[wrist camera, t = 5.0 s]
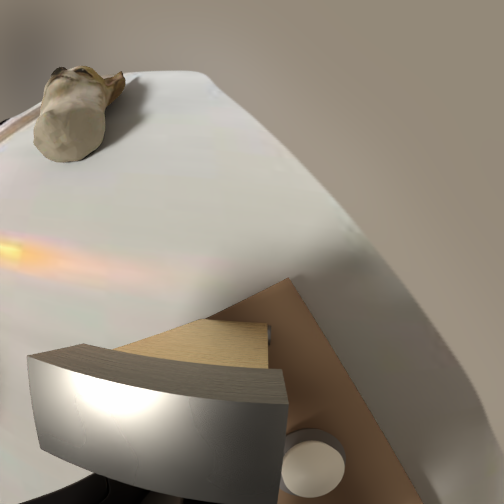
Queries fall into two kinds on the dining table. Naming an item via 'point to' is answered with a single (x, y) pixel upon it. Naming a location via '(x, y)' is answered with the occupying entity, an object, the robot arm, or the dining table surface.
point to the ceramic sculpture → (74, 112)
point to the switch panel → (323, 402)
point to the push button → (312, 469)
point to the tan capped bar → (169, 411)
